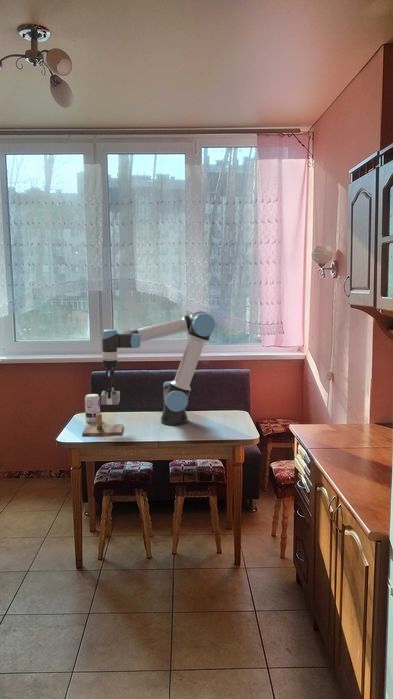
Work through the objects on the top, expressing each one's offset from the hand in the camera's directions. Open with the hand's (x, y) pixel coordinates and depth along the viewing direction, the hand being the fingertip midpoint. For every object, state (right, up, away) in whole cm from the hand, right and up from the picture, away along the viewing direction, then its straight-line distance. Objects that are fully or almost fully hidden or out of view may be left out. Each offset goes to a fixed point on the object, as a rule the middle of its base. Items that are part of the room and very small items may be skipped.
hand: (110, 401), depth 262 cm
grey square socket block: (0, 0, 0) cm, 0 cm away
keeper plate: (-4, -16, +3) cm, 17 cm away
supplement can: (-14, -13, +23) cm, 30 cm away
